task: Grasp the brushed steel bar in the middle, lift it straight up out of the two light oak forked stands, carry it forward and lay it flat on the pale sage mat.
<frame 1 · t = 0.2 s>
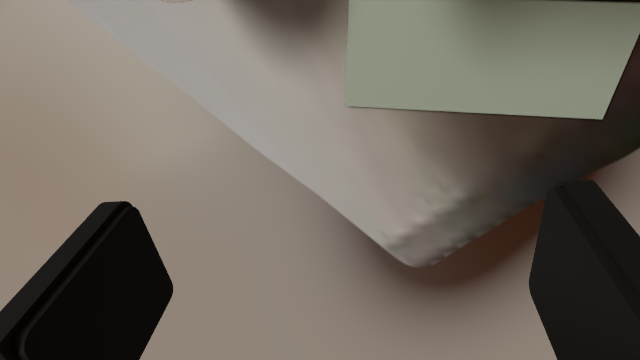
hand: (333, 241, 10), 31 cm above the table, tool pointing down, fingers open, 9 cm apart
sage mat: (480, 58, 37), on the table
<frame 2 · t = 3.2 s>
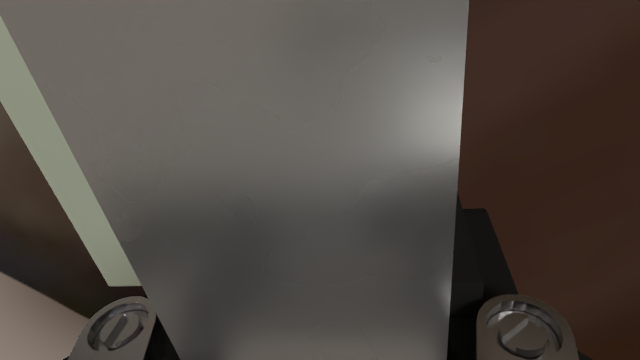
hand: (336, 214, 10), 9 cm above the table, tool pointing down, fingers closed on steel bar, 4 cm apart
steel bar: (334, 232, 10), point 10 cm above the table, touching forked stand, gripper
sage mat: (107, 106, 20), on the table
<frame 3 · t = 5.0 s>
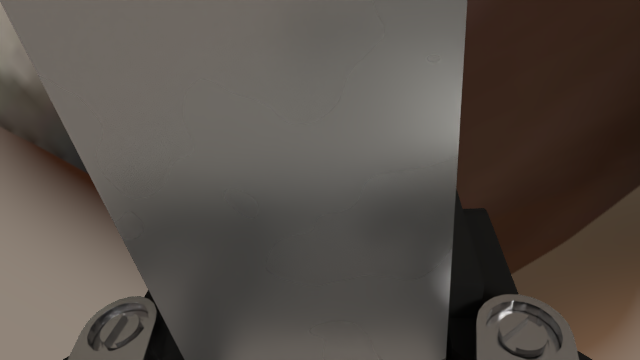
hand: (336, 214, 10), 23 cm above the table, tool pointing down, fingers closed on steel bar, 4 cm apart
steel bar: (334, 231, 10), point 24 cm above the table, touching gripper
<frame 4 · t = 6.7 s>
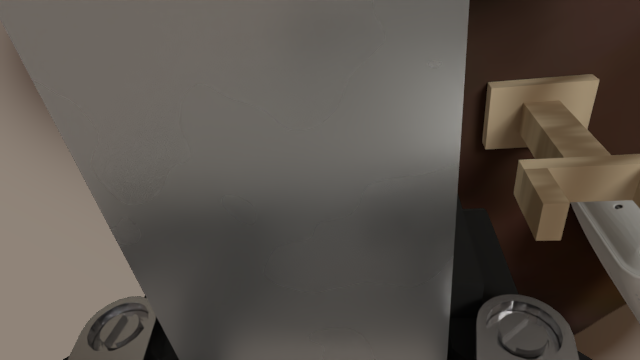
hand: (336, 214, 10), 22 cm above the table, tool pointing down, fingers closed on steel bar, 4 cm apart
steel bar: (334, 234, 10), point 23 cm above the table, touching gripper
photo printer: (601, 209, 35), on the table
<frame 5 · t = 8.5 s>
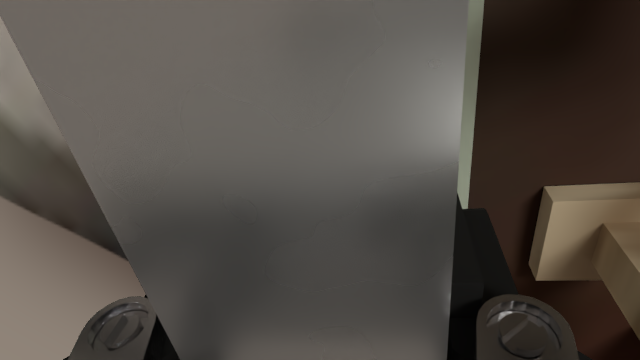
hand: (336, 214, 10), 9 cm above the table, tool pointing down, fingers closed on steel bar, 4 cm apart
steel bar: (334, 233, 10), point 9 cm above the table, touching gripper
sage mat: (352, 90, 18), on the table
when the fingers open (2 cm above the table, at t = 10.1 s): steel bar drops 2 cm, resting on sage mat.
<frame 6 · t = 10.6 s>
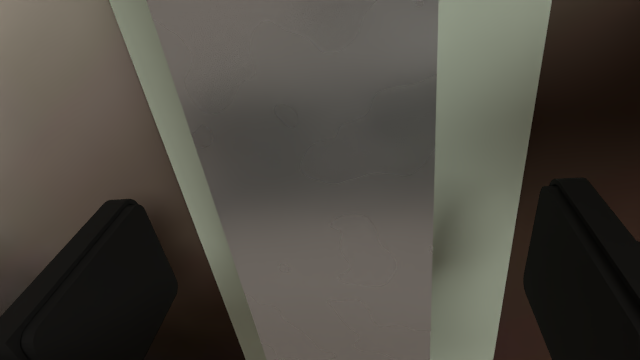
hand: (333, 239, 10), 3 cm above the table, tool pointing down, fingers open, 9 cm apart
steel bar: (344, 178, 12), point 1 cm above the table, touching sage mat
sage mat: (341, 167, 12), on the table
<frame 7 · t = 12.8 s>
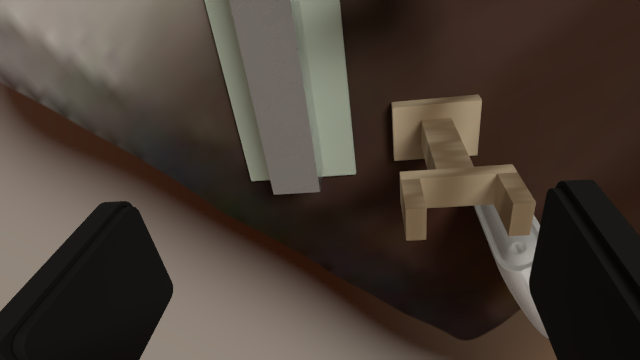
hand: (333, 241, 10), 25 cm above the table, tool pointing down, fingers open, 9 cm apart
steel bar: (281, 49, 32), point 1 cm above the table, touching sage mat
sage mat: (281, 47, 32), on the table
photo printer: (505, 212, 40), on the table
forked stand: (435, 29, 31), on the table
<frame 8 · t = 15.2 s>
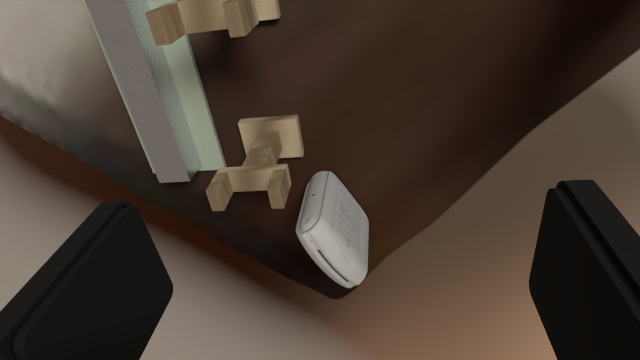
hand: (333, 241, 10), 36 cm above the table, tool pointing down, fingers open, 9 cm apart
steel bar: (158, 82, 47), point 1 cm above the table, touching sage mat
sage mat: (159, 81, 47), on the table
photo printer: (338, 198, 54), on the table
forked stand: (259, 71, 45), on the table
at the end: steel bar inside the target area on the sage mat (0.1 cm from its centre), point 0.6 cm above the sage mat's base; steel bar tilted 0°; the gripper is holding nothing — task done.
